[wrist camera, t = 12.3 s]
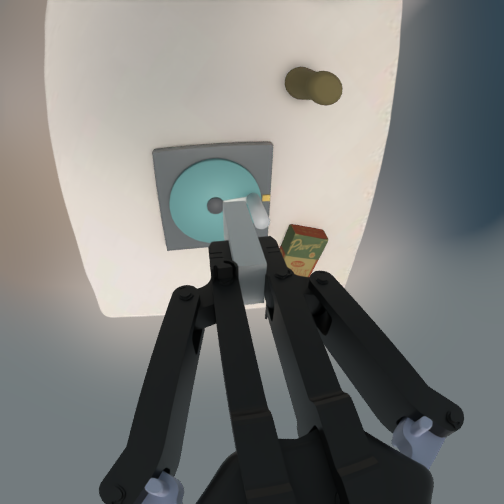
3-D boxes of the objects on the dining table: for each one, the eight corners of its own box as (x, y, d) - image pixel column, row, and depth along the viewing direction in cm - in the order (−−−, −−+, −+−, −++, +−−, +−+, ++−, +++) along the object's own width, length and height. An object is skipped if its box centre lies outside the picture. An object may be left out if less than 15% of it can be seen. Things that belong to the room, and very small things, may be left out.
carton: (264, 279, 66) (268, 292, 63) (289, 222, 58) (295, 233, 54) (296, 282, 69) (301, 294, 66) (322, 228, 60) (330, 240, 57)
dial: (181, 244, 53) (180, 278, 46) (160, 168, 43) (153, 192, 36) (262, 230, 55) (274, 261, 47) (255, 151, 45) (269, 171, 37)
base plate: (154, 149, 43) (152, 153, 41) (270, 141, 46) (273, 145, 44) (168, 244, 55) (167, 251, 53) (265, 236, 58) (267, 242, 56)
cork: (325, 86, 41) (356, 93, 32) (300, 106, 43) (326, 118, 34) (303, 60, 37) (332, 60, 29) (277, 81, 39) (299, 85, 31)
